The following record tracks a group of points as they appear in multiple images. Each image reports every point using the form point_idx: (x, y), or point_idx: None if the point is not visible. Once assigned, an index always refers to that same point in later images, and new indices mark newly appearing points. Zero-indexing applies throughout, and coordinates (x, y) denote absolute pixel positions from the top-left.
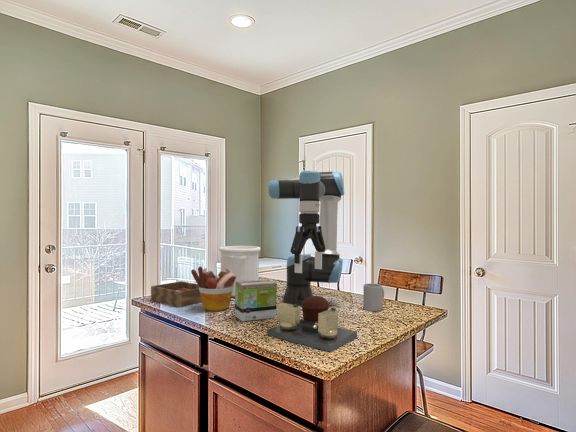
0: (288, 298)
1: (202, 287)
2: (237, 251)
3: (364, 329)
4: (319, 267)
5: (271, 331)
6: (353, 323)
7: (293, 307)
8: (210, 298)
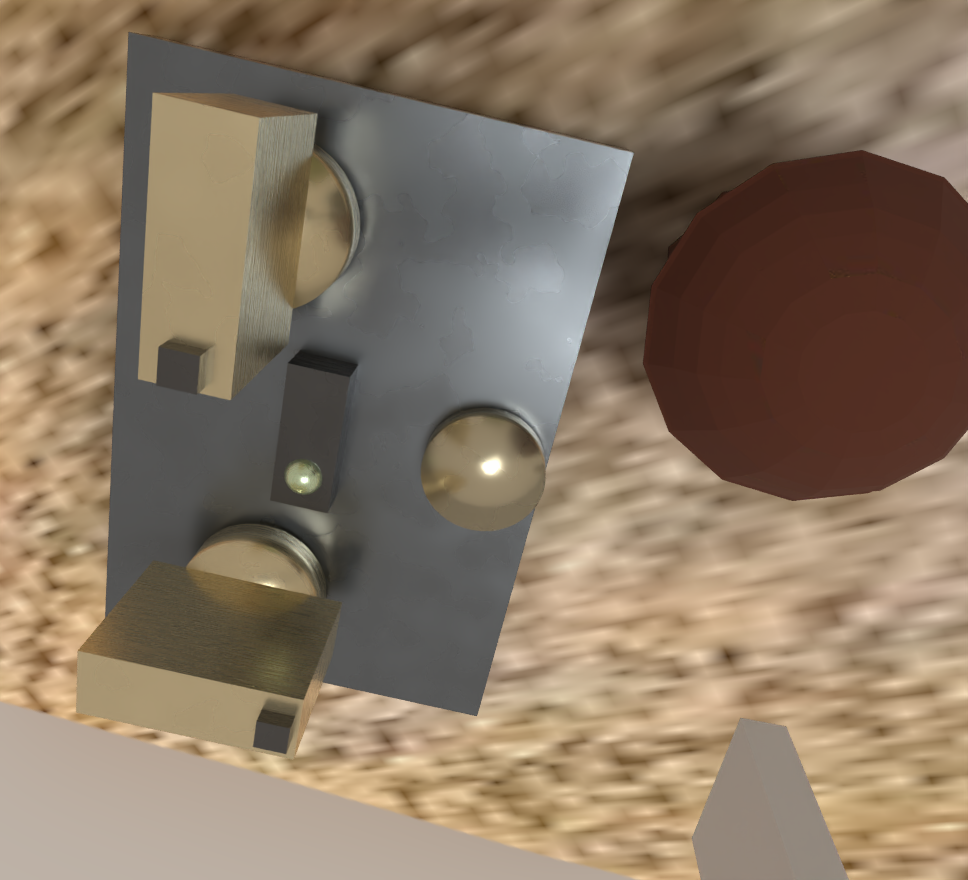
0: None
1: None
2: None
3: (684, 700)
4: (709, 844)
5: (129, 97)
6: (823, 607)
7: (142, 353)
8: None
